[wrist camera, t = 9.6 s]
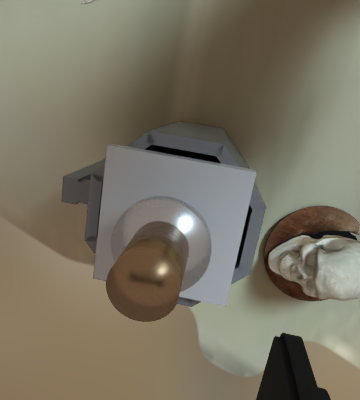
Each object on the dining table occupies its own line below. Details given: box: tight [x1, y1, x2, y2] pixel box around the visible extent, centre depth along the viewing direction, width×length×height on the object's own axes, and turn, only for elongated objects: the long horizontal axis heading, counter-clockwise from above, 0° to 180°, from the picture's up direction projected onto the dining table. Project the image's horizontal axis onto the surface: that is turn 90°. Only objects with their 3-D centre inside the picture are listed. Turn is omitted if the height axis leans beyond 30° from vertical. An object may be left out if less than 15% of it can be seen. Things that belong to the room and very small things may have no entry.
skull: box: [264, 206, 360, 301], centre depth 40 cm, size 12×10×10 cm
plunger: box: [106, 148, 220, 322], centre depth 26 cm, size 8×8×23 cm
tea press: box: [62, 121, 266, 307], centre depth 31 cm, size 15×12×19 cm
